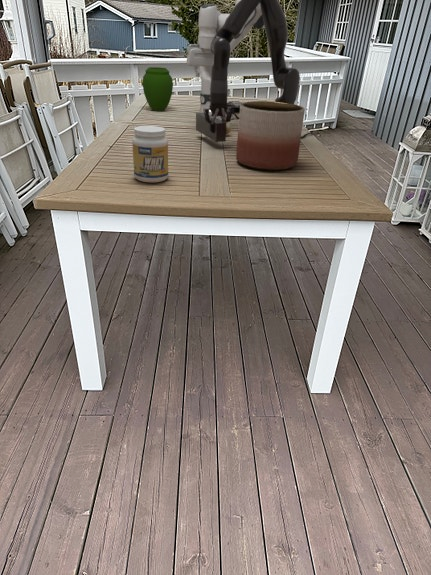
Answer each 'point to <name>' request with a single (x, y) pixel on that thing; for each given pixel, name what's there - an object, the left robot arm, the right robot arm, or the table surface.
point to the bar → (204, 128)
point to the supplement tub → (150, 154)
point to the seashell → (227, 128)
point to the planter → (269, 134)
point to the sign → (234, 105)
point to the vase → (157, 88)
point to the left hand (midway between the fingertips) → (206, 76)
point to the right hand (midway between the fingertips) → (217, 132)
